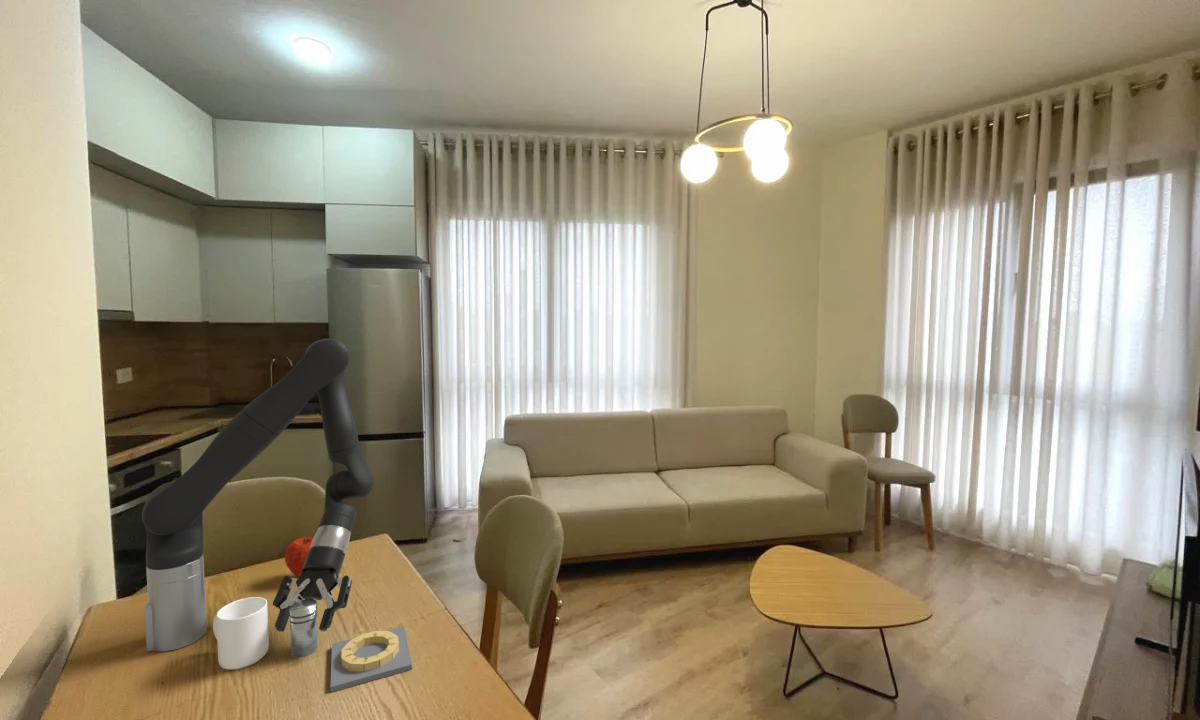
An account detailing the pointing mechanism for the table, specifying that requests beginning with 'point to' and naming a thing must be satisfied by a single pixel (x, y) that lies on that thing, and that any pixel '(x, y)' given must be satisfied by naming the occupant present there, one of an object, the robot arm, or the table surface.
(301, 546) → the apple
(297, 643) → the piston
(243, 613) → the mug
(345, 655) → the ring block
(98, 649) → the table surface
